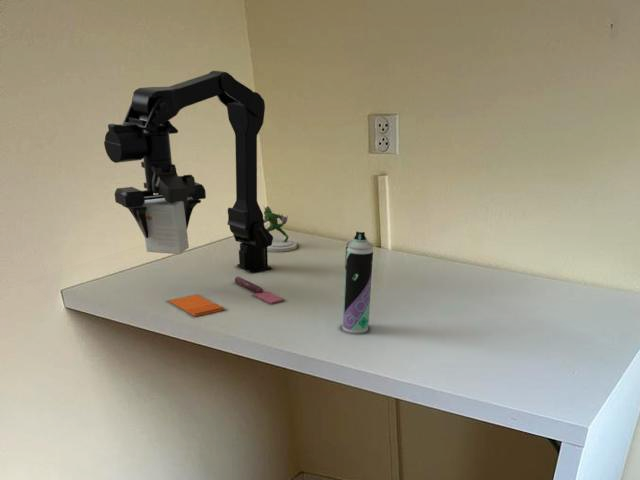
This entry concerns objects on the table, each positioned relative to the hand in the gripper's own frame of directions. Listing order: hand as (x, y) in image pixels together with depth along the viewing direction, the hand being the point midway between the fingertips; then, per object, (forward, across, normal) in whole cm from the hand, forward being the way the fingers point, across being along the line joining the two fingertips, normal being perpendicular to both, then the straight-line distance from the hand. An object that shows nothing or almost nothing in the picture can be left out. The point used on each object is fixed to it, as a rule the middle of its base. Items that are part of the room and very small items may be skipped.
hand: (165, 234), depth 150 cm
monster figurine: (+13, +42, +18) cm, 48 cm away
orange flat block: (+12, -1, -12) cm, 17 cm away
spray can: (+13, +20, -42) cm, 48 cm away
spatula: (+12, +16, -12) cm, 23 cm away
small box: (+4, 0, 0) cm, 4 cm away
